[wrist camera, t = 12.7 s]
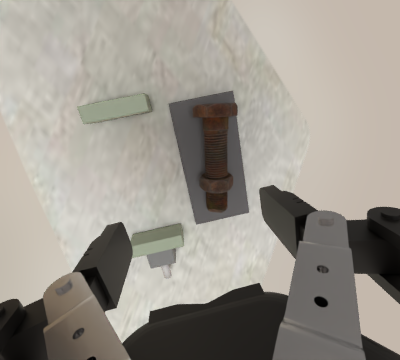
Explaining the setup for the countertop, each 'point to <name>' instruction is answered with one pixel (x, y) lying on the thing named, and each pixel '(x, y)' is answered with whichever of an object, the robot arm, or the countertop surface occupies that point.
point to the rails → (154, 239)
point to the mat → (195, 161)
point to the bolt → (215, 153)
